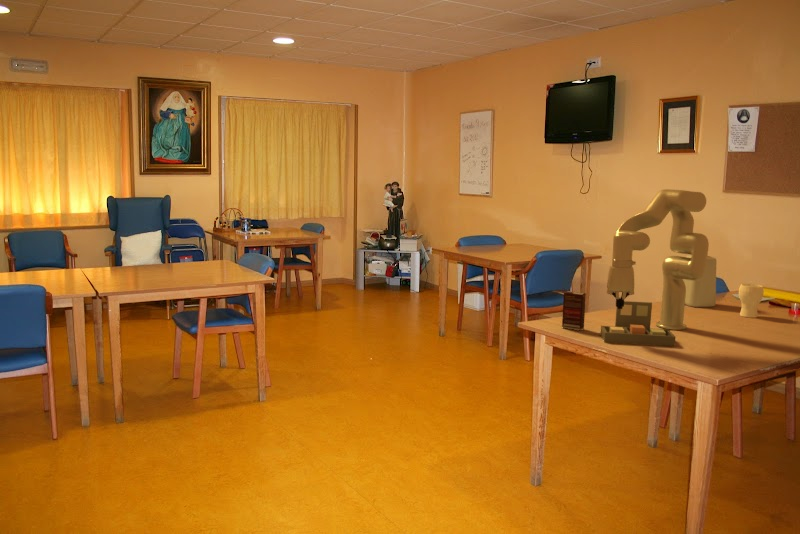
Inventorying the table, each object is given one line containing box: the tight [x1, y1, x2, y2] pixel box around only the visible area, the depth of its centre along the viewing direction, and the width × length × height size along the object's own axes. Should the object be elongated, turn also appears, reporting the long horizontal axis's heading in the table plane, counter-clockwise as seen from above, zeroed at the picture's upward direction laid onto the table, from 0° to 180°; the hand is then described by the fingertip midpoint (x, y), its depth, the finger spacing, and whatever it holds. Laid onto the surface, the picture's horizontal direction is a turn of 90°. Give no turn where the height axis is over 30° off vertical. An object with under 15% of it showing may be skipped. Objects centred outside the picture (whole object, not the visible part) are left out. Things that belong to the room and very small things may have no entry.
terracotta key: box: [630, 325, 645, 334], centre depth 283 cm, size 5×5×3 cm
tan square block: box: [609, 327, 624, 333], centre depth 284 cm, size 5×5×3 cm
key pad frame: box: [600, 325, 676, 347], centre depth 283 cm, size 12×27×4 cm, turn 81°
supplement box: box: [561, 290, 587, 332], centre depth 300 cm, size 9×5×16 cm, turn 59°
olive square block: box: [650, 328, 666, 335], centre depth 282 cm, size 5×5×3 cm
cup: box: [738, 283, 765, 319], centre depth 334 cm, size 11×11×15 cm
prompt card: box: [614, 300, 653, 329], centre depth 292 cm, size 2×14×14 cm, turn 82°
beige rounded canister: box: [683, 253, 717, 308], centre depth 358 cm, size 15×15×28 cm
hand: (619, 308), depth 283 cm, fingers closed
